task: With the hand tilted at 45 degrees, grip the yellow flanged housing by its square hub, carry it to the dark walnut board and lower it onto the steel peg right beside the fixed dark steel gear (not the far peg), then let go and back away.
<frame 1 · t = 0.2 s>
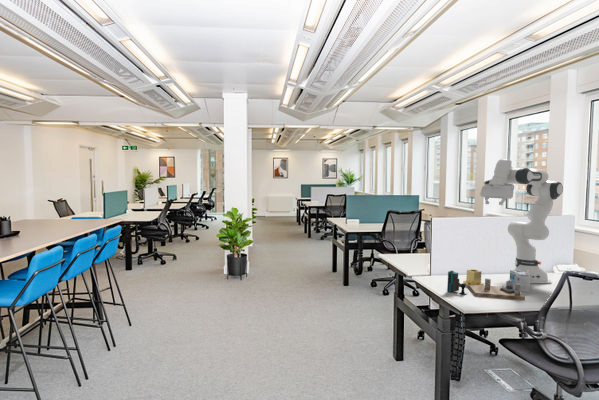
hand: (493, 204, 237), 52 cm above the table, tool tilted 20°, fingers open, 8 cm apart
walnut board: (494, 293, 224), on the table
surveillance camera: (457, 293, 224), on the table
yellow flanged housing: (473, 284, 242), on the table
light bulb box: (519, 289, 235), on the table
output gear: (509, 294, 224), resting on walnut board
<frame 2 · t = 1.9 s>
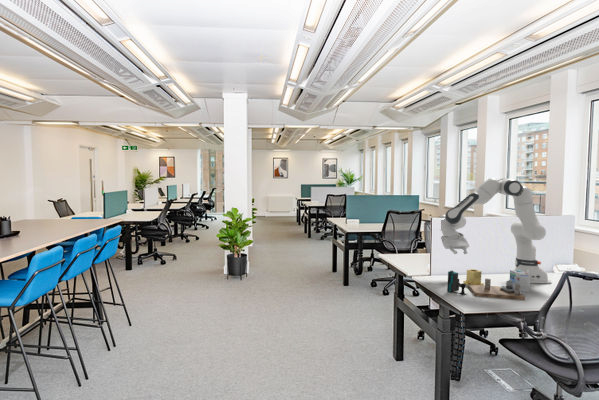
hand: (461, 253, 251), 18 cm above the table, tool tilted 45°, fingers open, 8 cm apart
nothing on the table moved.
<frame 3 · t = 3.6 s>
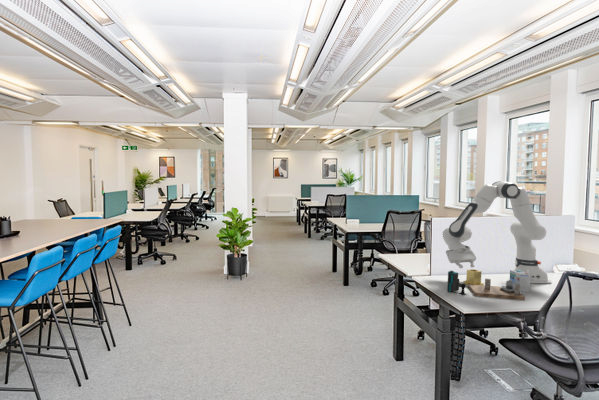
hand: (467, 267, 247), 10 cm above the table, tool tilted 45°, fingers open, 8 cm apart
nothing on the table moved.
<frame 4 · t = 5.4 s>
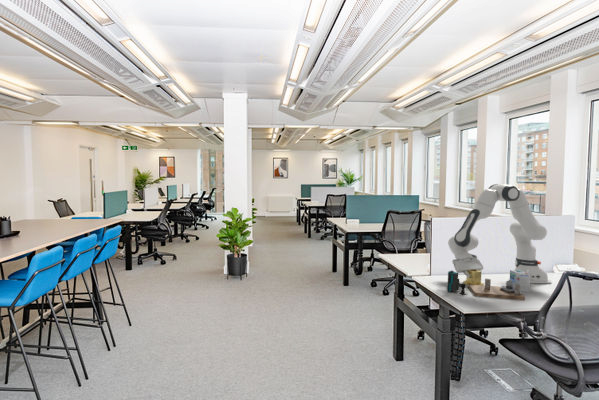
hand: (474, 277, 242), 5 cm above the table, tool tilted 45°, fingers closed on yellow flanged housing, 6 cm apart
yellow flanged housing: (473, 284, 242), on the table, touching gripper
everything else where it was.
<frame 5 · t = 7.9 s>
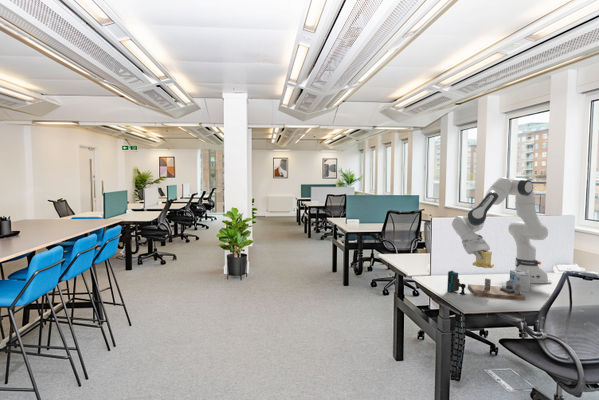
hand: (484, 258, 228), 20 cm above the table, tool tilted 45°, fingers closed on yellow flanged housing, 6 cm apart
yellow flanged housing: (483, 265, 229), point 15 cm above the table, touching gripper
everything else where it was.
when the fingers open (9 cm above the table, at t = 10.7 s): yellow flanged housing drops 2 cm, resting on walnut board.
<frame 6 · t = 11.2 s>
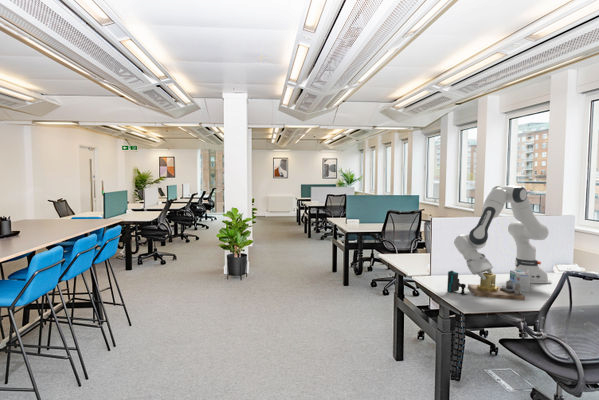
hand: (489, 278, 225), 9 cm above the table, tool tilted 45°, fingers open, 8 cm apart
yellow flanged housing: (487, 289, 226), point 2 cm above the table, touching walnut board
everything else where it was.
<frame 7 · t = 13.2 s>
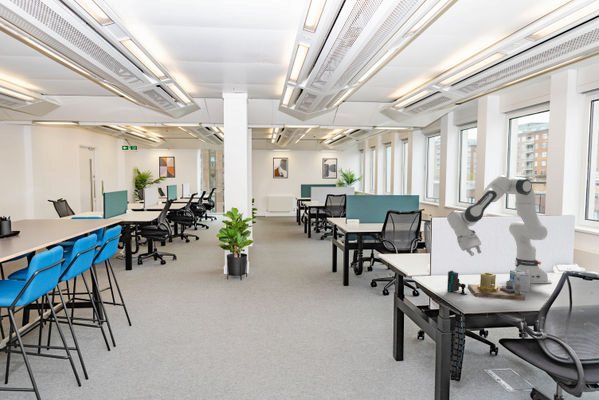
hand: (476, 254, 236), 21 cm above the table, tool tilted 35°, fingers open, 8 cm apart
nothing on the table moved.
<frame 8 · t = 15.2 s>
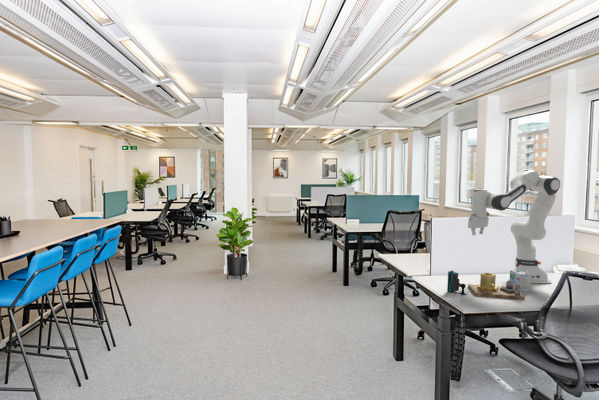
hand: (477, 234, 249), 31 cm above the table, tool pointing down, fingers open, 8 cm apart
nothing on the table moved.
at the end: yellow flanged housing 0.1 cm from the target spot on the walnut board, point 2.0 cm above the walnut board's base; yellow flanged housing tilted 0°; the gripper is holding nothing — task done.
